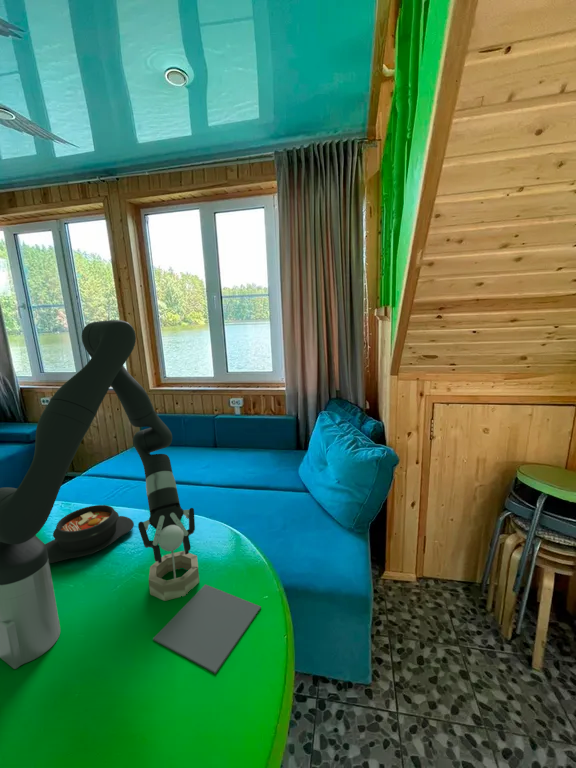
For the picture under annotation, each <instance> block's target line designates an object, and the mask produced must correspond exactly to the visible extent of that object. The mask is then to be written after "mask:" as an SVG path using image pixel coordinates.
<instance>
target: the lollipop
mask: <svg viewBox="0 0 576 768" xmlns="http://www.w3.org/2000/svg"><path fill="white" fill-rule="evenodd" d="M183 537H184V533H183V530H182V529H181V528H180V527H178V526H176V525H169V526H166V527H165V528H164V529H163V530H162V531H161V532H160V534H159V537H158V545H159V547H160V549H162V550H164V551H166V552H171V554H172V562H173V571H172V572H173V579H175V578H177V574H176V570H175V562H174V553H175V552H174V551H175V550H176V549H178V548H180V546H181V545H182V544H183Z"/></svg>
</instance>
